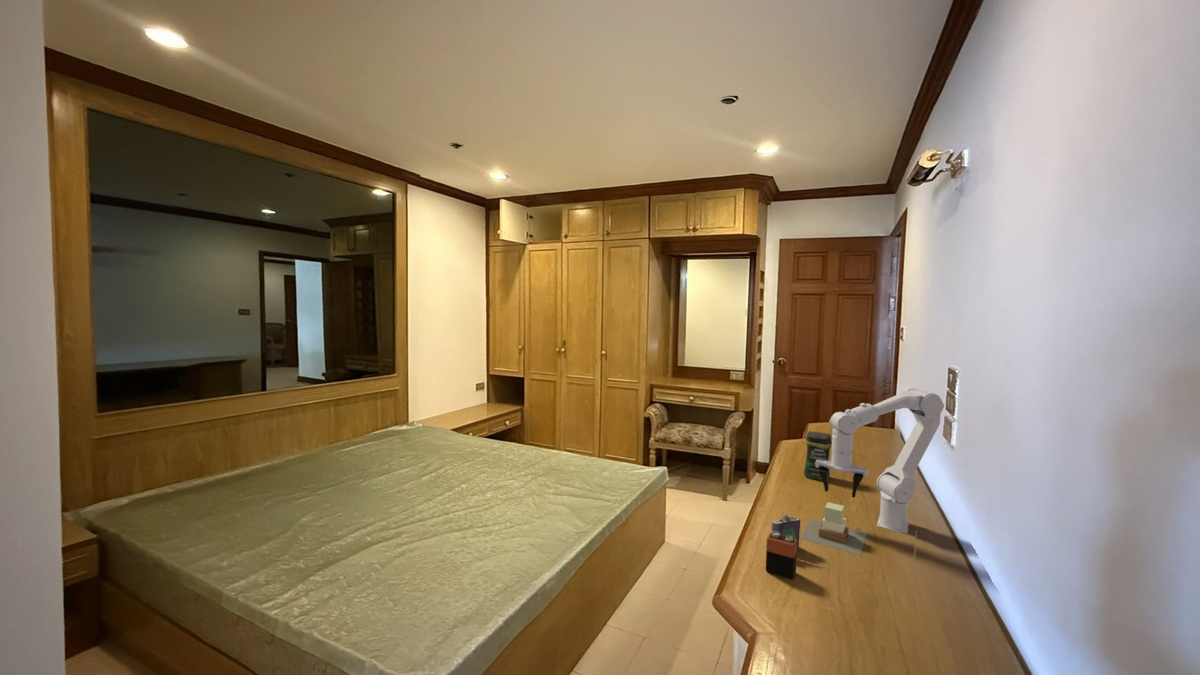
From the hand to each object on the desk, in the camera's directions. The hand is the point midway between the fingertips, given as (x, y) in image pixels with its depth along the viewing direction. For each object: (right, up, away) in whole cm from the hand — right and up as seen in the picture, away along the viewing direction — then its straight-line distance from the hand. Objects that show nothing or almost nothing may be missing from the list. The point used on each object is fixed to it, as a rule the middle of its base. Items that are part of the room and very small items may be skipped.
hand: (839, 493), depth 147 cm
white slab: (-5, -8, -7) cm, 12 cm away
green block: (-5, -5, -7) cm, 11 cm away
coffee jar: (+13, -8, +43) cm, 46 cm away
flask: (-23, -11, -15) cm, 30 cm away
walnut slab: (-5, -10, -7) cm, 13 cm away
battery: (-29, -12, -26) cm, 40 cm away
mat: (-5, -11, -7) cm, 14 cm away
